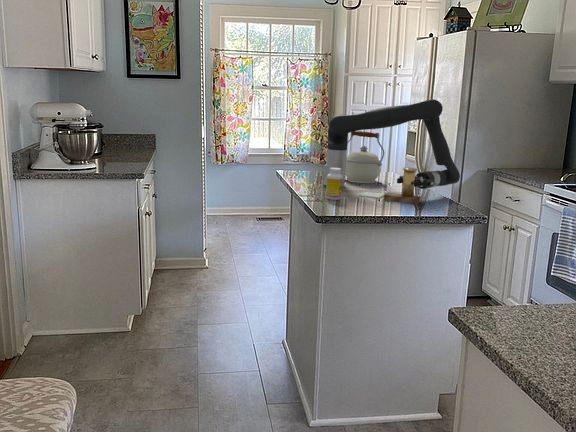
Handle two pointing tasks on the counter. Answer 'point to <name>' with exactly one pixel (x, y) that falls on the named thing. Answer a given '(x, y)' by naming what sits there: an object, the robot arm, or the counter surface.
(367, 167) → the kettle
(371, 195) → the pad
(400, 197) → the brown flat block
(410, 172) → the gold cylindrical canister
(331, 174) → the supplement bottle
